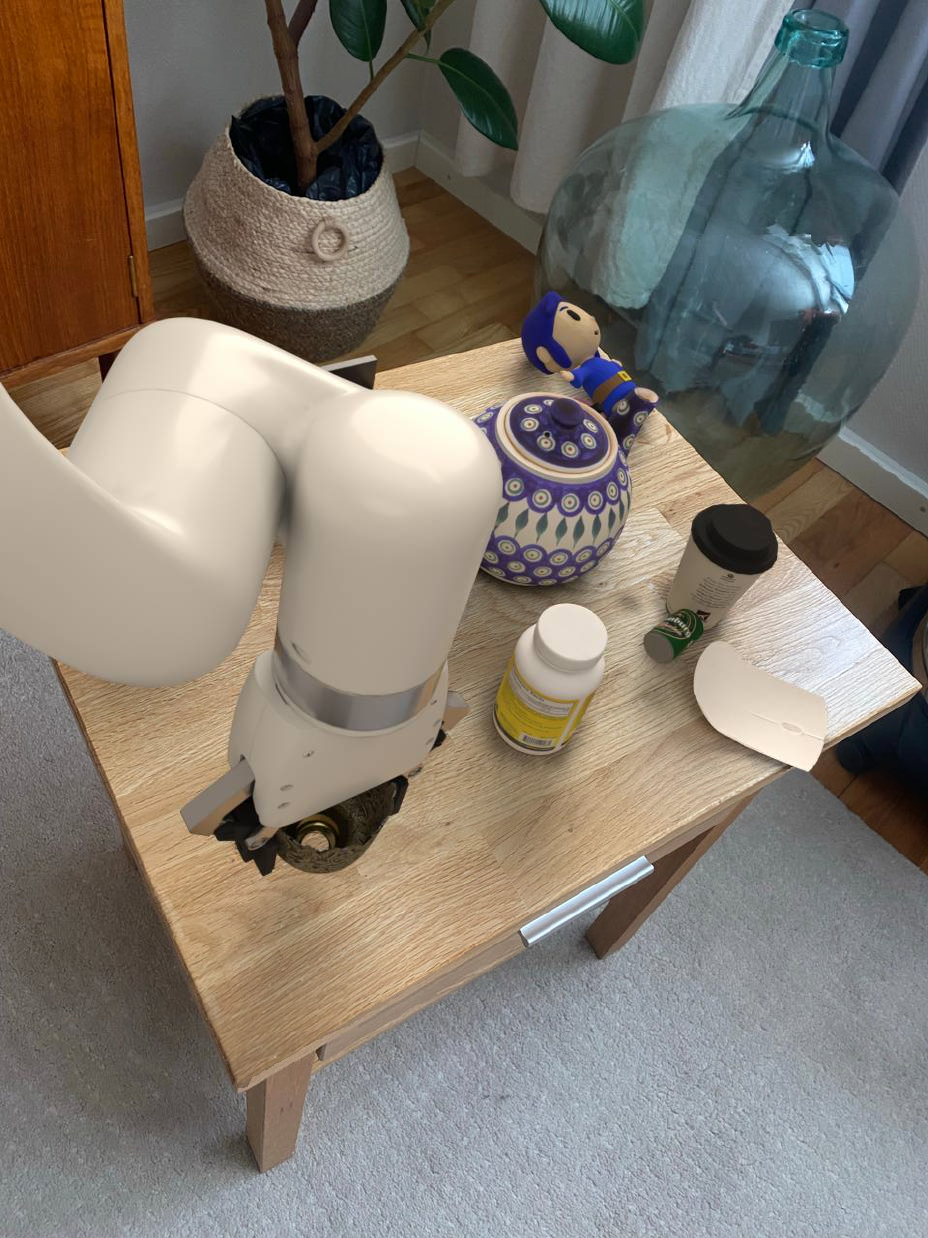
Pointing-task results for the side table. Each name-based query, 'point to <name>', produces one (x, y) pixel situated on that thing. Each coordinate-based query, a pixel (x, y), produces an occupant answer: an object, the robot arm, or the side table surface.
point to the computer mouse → (759, 707)
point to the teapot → (559, 484)
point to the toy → (573, 351)
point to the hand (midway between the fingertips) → (320, 822)
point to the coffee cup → (722, 560)
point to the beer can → (673, 636)
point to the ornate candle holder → (338, 831)
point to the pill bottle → (551, 679)
